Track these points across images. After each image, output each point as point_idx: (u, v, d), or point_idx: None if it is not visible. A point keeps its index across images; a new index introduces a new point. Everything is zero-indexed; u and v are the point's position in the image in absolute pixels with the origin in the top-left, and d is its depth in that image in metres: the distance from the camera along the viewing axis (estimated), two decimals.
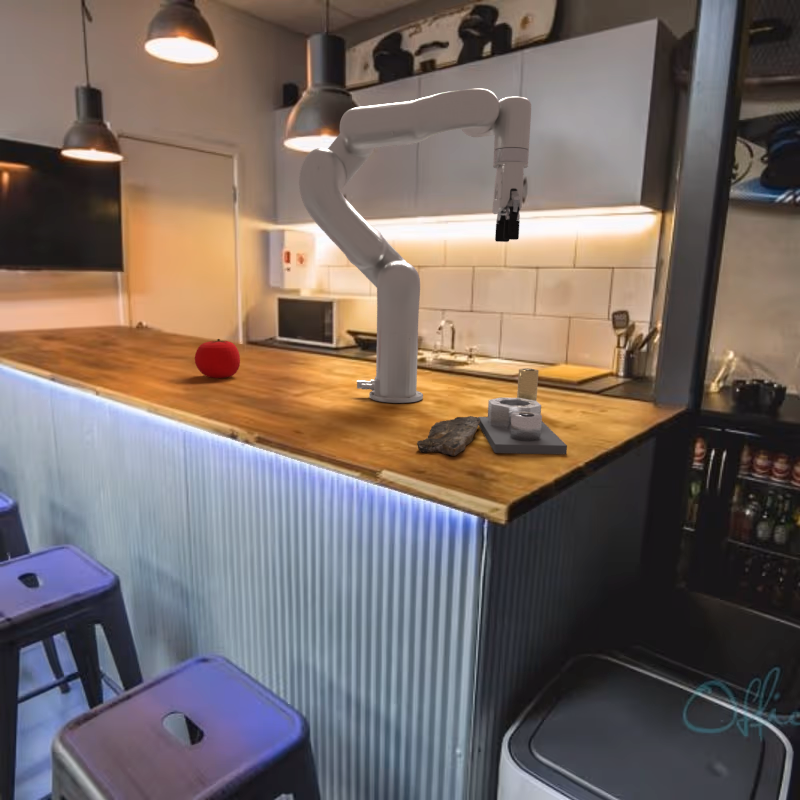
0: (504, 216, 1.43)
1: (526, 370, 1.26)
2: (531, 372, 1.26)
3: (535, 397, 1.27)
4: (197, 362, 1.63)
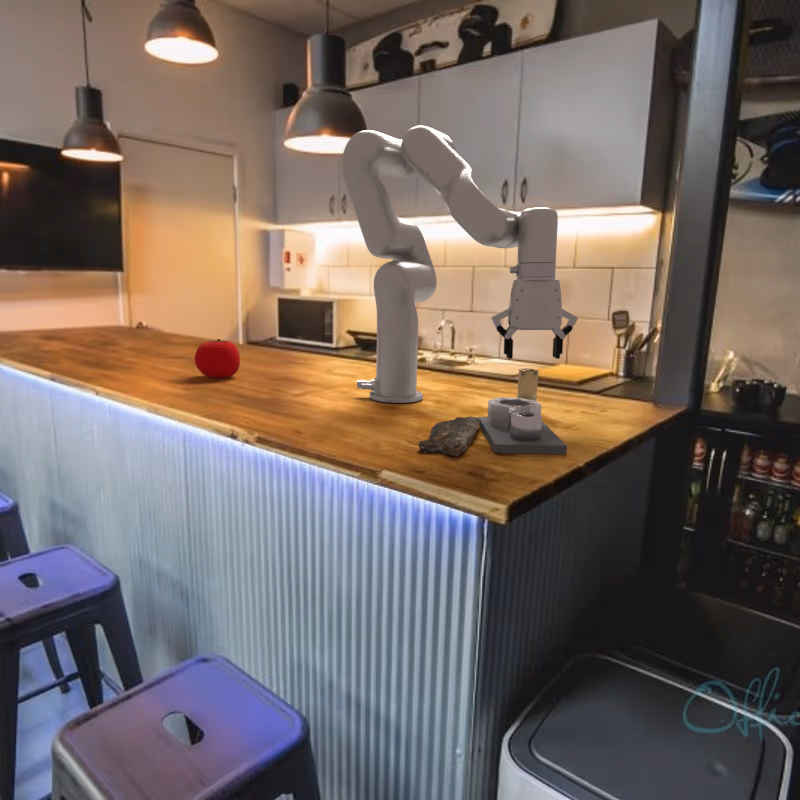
0: None
1: (526, 370, 1.26)
2: (531, 372, 1.26)
3: (535, 397, 1.27)
4: (197, 362, 1.63)
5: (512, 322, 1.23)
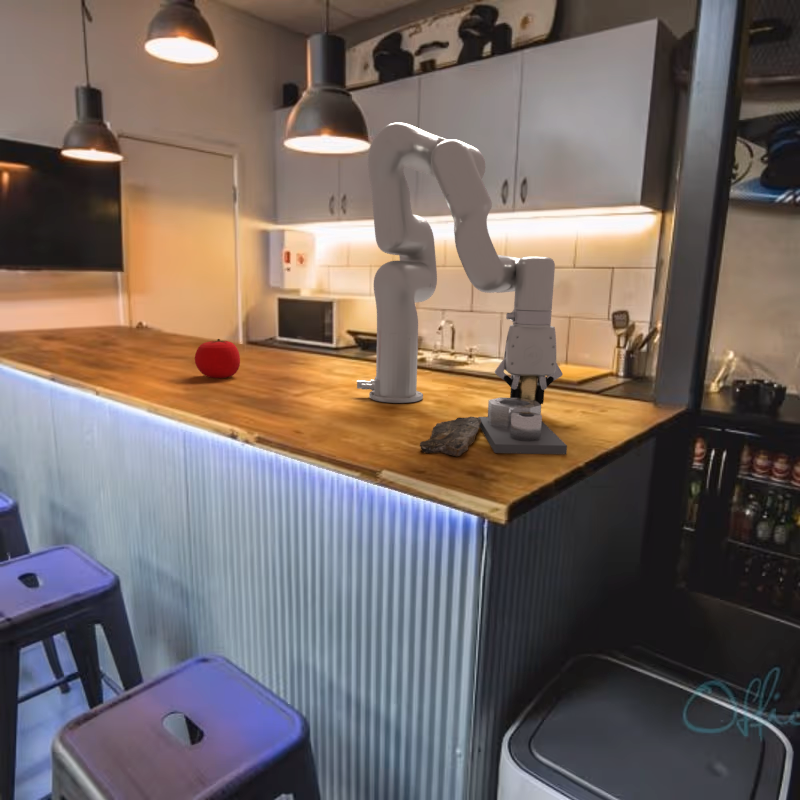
0: (511, 379, 1.28)
1: None
2: None
3: (535, 397, 1.27)
4: (197, 362, 1.63)
5: (507, 367, 1.25)
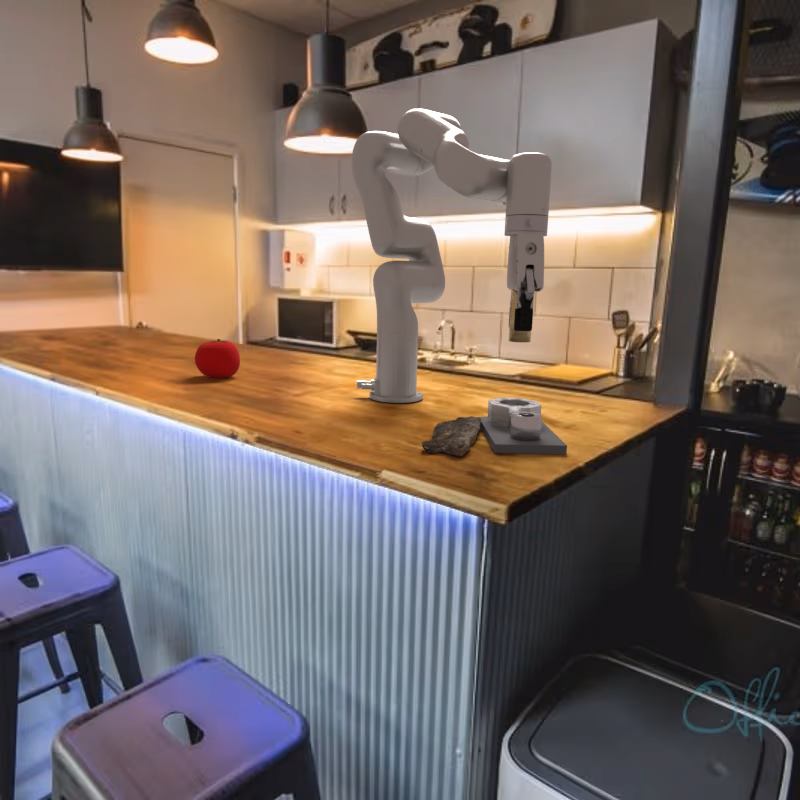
0: None
1: None
2: None
3: None
4: (197, 362, 1.63)
5: (542, 283, 1.08)
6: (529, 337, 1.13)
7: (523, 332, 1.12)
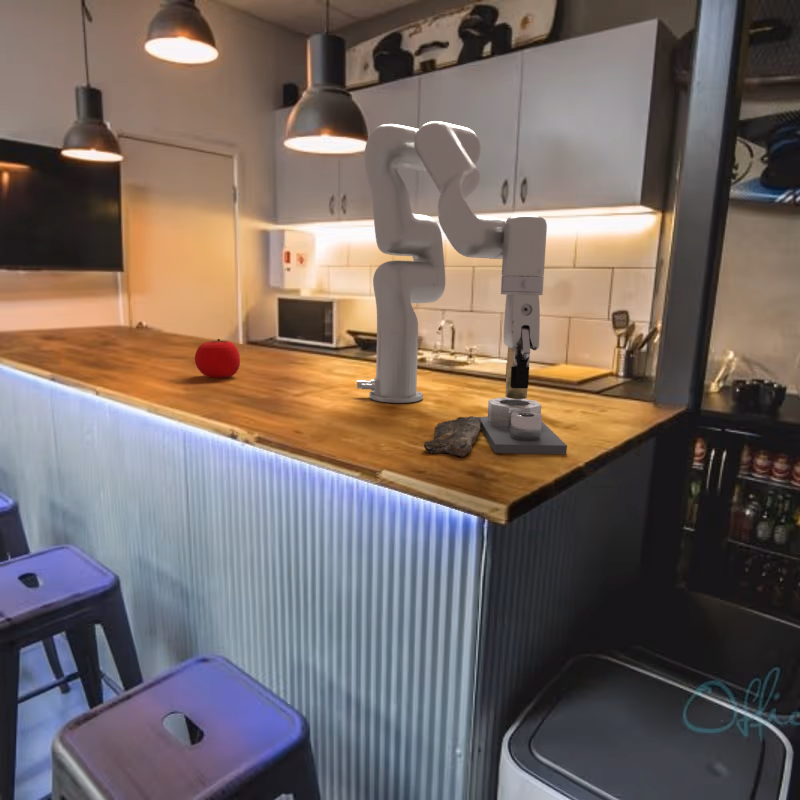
0: None
1: None
2: None
3: None
4: (197, 362, 1.63)
5: (537, 343, 1.09)
6: (525, 393, 1.15)
7: (519, 389, 1.14)
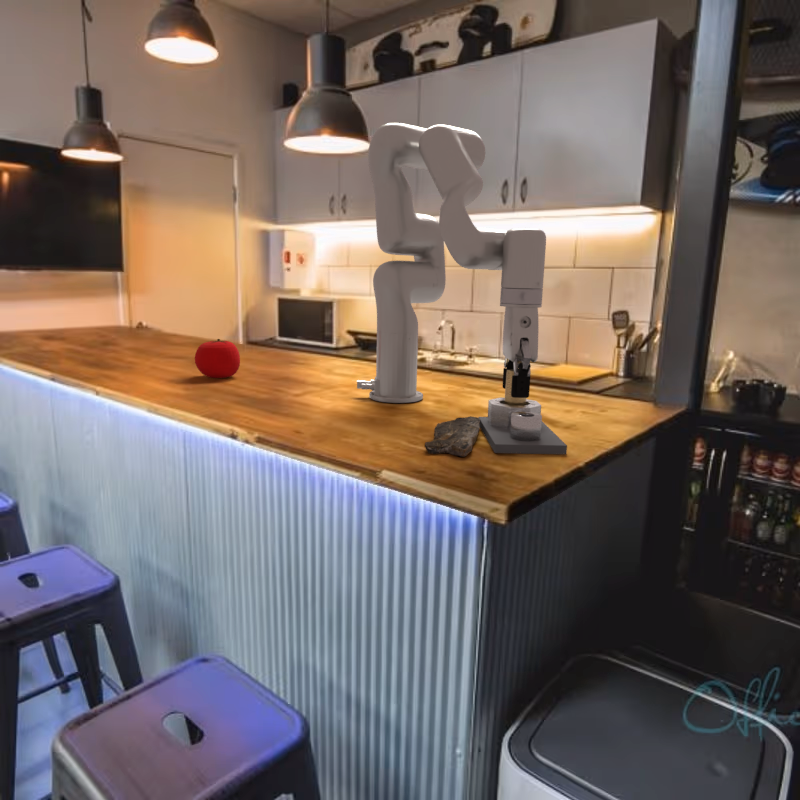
0: None
1: None
2: None
3: None
4: (197, 362, 1.63)
5: (536, 355, 1.10)
6: None
7: None
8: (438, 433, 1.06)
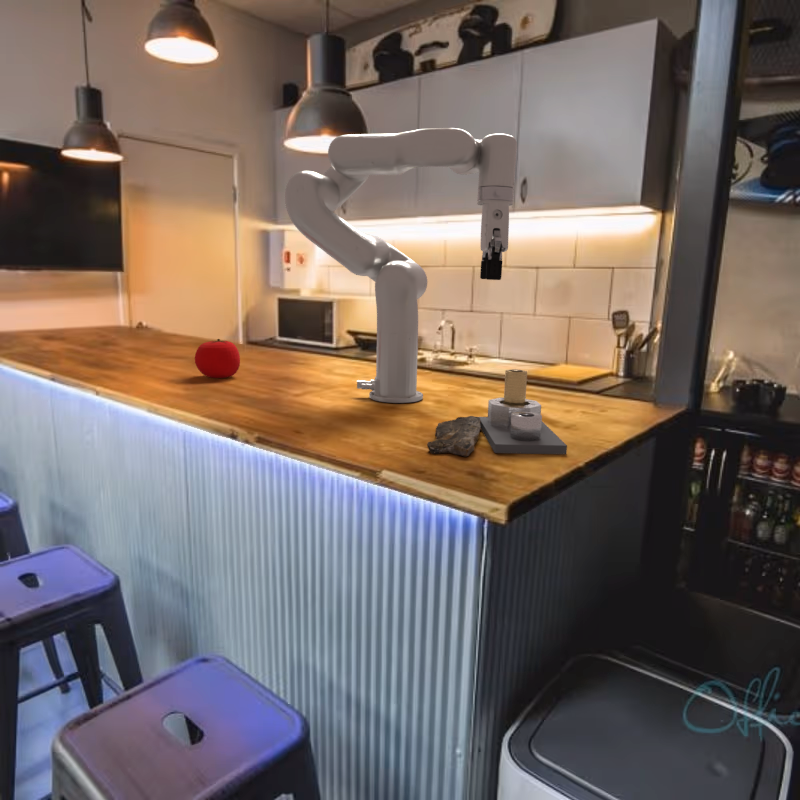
0: None
1: (522, 371, 1.15)
2: None
3: None
4: (197, 362, 1.63)
5: (506, 243, 1.29)
6: None
7: None
8: (440, 433, 1.06)
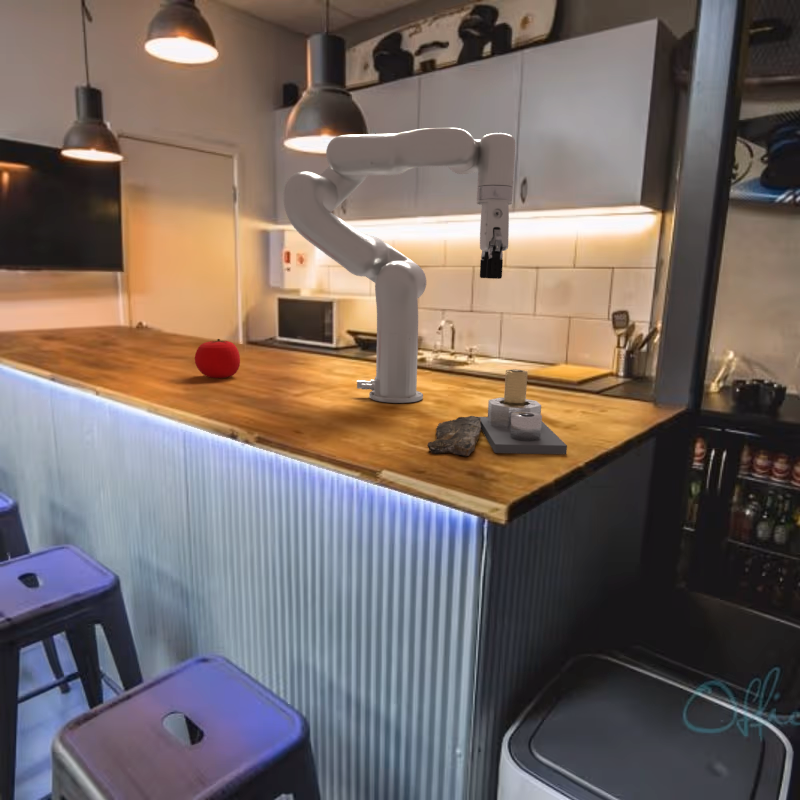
0: None
1: (522, 371, 1.15)
2: None
3: None
4: (197, 362, 1.63)
5: (507, 242, 1.29)
6: None
7: None
8: (440, 433, 1.06)
